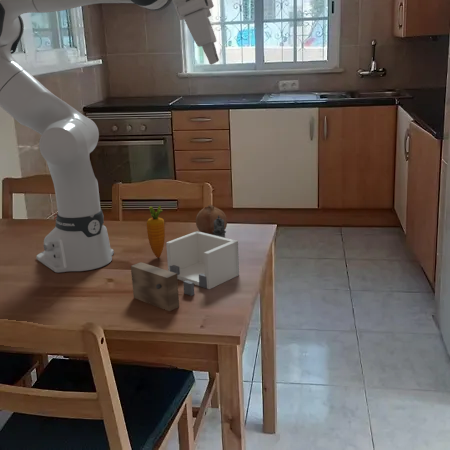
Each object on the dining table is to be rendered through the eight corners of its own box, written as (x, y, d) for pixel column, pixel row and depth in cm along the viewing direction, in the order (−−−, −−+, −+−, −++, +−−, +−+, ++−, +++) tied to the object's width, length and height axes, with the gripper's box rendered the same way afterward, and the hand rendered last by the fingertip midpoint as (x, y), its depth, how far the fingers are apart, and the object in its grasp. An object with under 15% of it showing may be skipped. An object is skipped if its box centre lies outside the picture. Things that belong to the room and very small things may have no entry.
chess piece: (230, 253, 161) (229, 212, 158) (231, 261, 156) (230, 218, 152) (209, 254, 161) (207, 213, 158) (209, 262, 156) (207, 219, 152)
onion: (198, 232, 181) (196, 201, 178) (228, 231, 180) (227, 200, 177) (195, 242, 172) (193, 209, 169) (227, 241, 171) (225, 208, 168)
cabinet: (152, 282, 144) (150, 248, 141) (198, 263, 155) (196, 231, 152) (193, 296, 135) (191, 260, 132) (239, 274, 146) (237, 240, 144)
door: (131, 299, 135) (128, 266, 133) (143, 293, 138) (140, 262, 135) (167, 312, 127) (164, 278, 125) (179, 306, 130) (177, 273, 128)
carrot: (164, 253, 163) (160, 201, 159) (169, 259, 159) (165, 206, 154) (147, 256, 162) (142, 204, 157) (151, 262, 157) (147, 208, 153)
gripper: (186, 13, 149) (205, 65, 152) (176, 9, 129) (199, 69, 133) (209, 3, 148) (228, 57, 151) (203, -2, 128) (225, 59, 132)
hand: (214, 62), depth 142 cm, fingers open, 8 cm apart
